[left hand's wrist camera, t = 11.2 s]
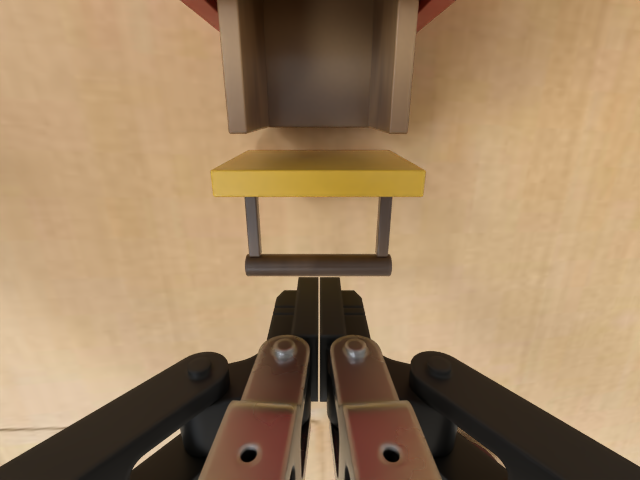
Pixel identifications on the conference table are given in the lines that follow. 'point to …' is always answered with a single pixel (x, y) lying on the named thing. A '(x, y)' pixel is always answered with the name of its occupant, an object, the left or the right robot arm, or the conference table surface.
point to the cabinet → (429, 7)
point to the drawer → (318, 113)
